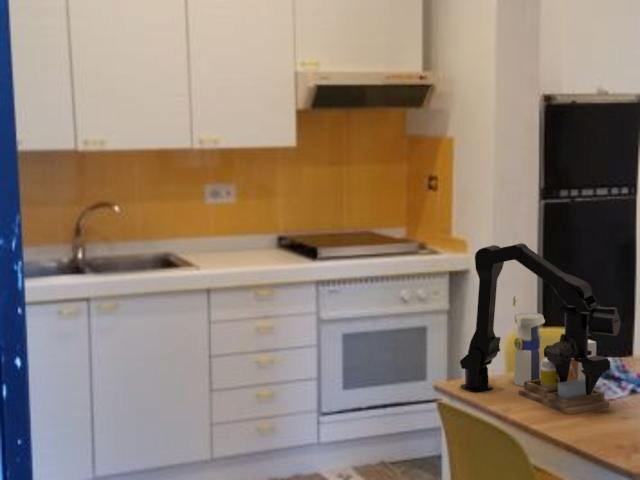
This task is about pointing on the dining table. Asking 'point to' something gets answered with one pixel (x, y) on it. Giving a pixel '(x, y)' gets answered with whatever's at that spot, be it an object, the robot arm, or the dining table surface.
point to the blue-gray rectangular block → (572, 388)
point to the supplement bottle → (549, 375)
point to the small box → (580, 364)
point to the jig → (564, 405)
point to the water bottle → (527, 347)
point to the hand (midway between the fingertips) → (575, 390)
